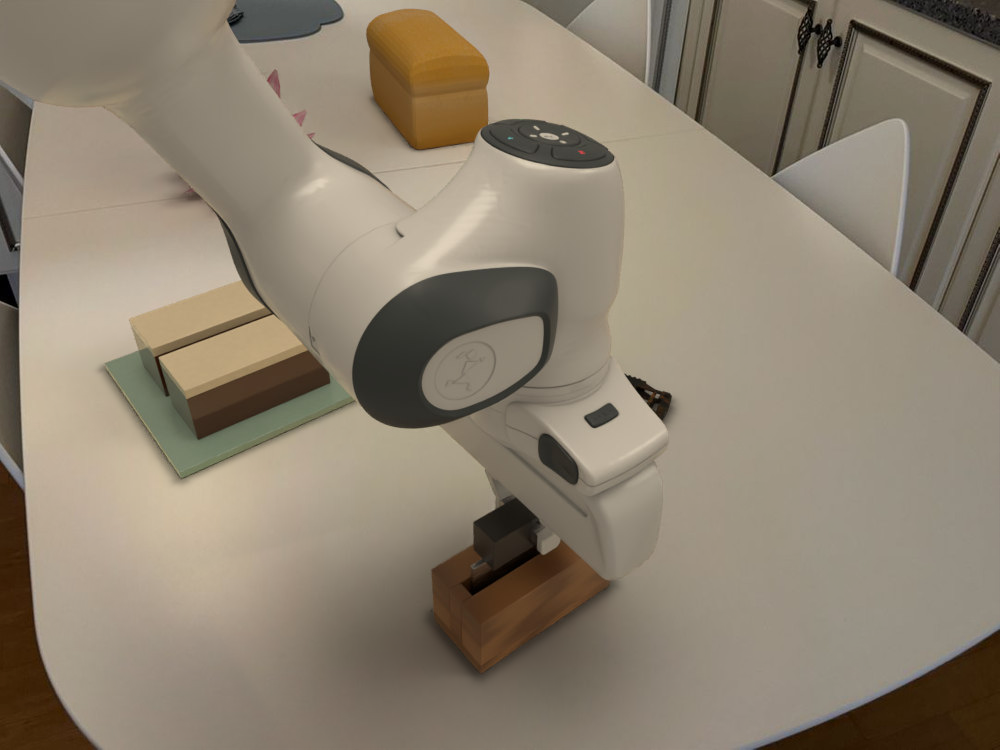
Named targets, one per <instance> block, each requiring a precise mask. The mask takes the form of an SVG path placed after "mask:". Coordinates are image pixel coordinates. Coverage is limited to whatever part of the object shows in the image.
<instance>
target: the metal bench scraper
mask: <svg viewBox="0 0 1000 750" xmlns="http://www.w3.org/2000/svg"><path fill="white" fill-rule="evenodd" d="M536 523H540V521H539V518H538V517H537V516H536V515H535V514H533V513H532V512H531V511H530V510H529V509H528V508H527V507H526V506H525V505H524V504H523V503H522V502H521V501H519V500H518V499H517V498H514V499H512V500H510V501H509V502H507V503H505V504H504V505H502V506H500V507H498V508H497V509H493V510H491V511H489V512H488V513H486V514H484V515H482V516H480V517H479V518H477V519H476V520H474V521H473V529H472V531H473V533H472V534H473V536H472V537H473V544H474V551H475V552H476V553H477V554H478V555H479V556H480V557H481V558H482V559H481V560H479V561H478V562H476V563H474V564H473V565H471V566H470V567H471V595H472V596H473V595H475V594H477V593H478V592H480V591H481V590H483V589H485V588H486V587H488V586H489V585H491V584H492V583H494V582H496V581H497V580H499V579H500V578H502V577H504V576H505V575H507V574H508V573H510V572H512V571H513V570H515V569H516V568H518V567H520V566H521V565H523V564H524V563H526V562H527V561H529V560H531V559H532V558H534V557H535V556H537V555H539V554H540V552H539V551H538V550H537V549H536V548H535V547H534V546H533V545H532V544H531V543H530V542H529V537H530V536H529V528H530V527H531V526H533V525H535V524H536ZM560 541H561V540H560Z"/></svg>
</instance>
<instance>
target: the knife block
mask: <svg viewBox="0 0 1000 750" xmlns="http://www.w3.org/2000/svg"><path fill="white" fill-rule="evenodd" d="M481 559H482V558H481V557H480V556H479V555H478V554H477V553H476V552H475V551H474V543H473V544H472V545H470V546H468V547H466V548H464V549H463V550H461V551H459V552H458V553H456V554H455V555H453V556H451V557H449V558H447V559H446V560H444V561H443V562H441V563H439V564H438V565H436V566H434V567H432V568H431V569H430V572H431V591H432V592H431V593H432V607H433V608H432V609H433V620H434V621H435V622H436V624H438V626H439V627H440V628H441V629H442V631H444V632H445V634H446V635H447V637H449V638H450V640H451V641H452V642H453V643H454V644H455V646H456V647H457V648H458V649H459V650H460V651H461V653H462V654H463V655H464V656H465V657H466V659H467V660H468V661H469V662H470V663H471V664H472V665H473V667H474V668H475V669H476V670H477V672H478V673H480V674H482V673H485V672H486V671H487V670H488V669H490V668H492V667H493V666H495V665H496V664H497V663H499V662H500V661H501V660H503V659H505V658H506V657H508V656H509V655H511V654H512V653H513V652H515V651H516V650H517V649H519V648H520V647H522V646H524V645H525V644H526V643H528V642H529V641H531V640H532V639H534V638H535V637H537V636H538V635H539V634H541V633H542V632H544V631H545V630H547V629H548V628H549V627H551V626H552V625H553V624H555V623H557V622H558V621H559V620H562V619H563V618H564V617H566V616H567V615H568V614H570V613H571V612H573V611H575V610H576V609H577V608H579V607H580V606H581V605H583V604H585V603H586V602H587V601H589V600H590V599H591V598H593V597H595V596H596V595H598V594H599V593H600V592H602V591H603V590H605V589H606V588H608V587H609V586H610V584H611V580H605V579H603V578H602V577H601V576H600V575H599V574H598V573H597V572H596V571H595V570H594V569H592V568H591V567H590V566H589V565H588V564H587V563H586V562H585V561H584V560H583V559H582V558H581V557H580V556H579V555H577V554H576V553H575V552H574V551H573V550H572V549H571V548H570V547H569V546H568V545H567V544H566V543H565V542H563V541H562V540H561V541H560V543H559V545H558V546H557V547H556V548H554V549H553V550H551V551H550V552H548V553H546V554H545V555H542V554H541V553H540V554H539V555H537V556H535V557H534V558H532V559H531V560H529V561H527V562H526V563H524V564H523V565H521V566H520V567H518V568H516V569H515V570H513V571H512V572H510V573H508V574H507V575H505V576H504V577H502V578H500V579H499V580H497V581H496V582H494V583H492V584H491V585H489V586H488V587H486V588H485V589H483V590H481V591H480V592H478V593H477V594H475V595H473V596H472V595H471V567H470V566H471V565H473V564H474V563H476V562H478V561H479V560H481Z"/></svg>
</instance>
